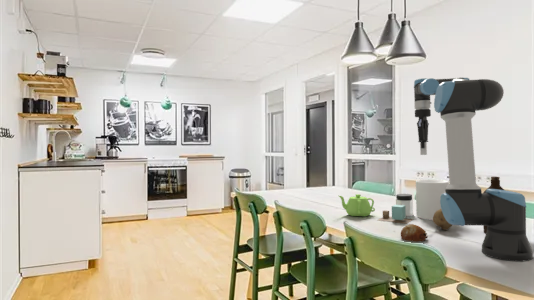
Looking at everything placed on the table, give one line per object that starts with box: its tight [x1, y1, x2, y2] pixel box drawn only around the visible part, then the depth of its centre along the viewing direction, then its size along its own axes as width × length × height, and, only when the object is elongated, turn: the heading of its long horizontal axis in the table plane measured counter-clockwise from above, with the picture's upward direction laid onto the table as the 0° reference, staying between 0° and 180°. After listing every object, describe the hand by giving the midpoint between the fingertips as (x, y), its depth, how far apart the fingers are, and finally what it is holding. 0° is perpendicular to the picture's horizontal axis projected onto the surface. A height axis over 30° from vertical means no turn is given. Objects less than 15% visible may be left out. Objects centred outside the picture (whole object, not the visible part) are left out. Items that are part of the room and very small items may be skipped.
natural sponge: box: [432, 209, 453, 231], centre depth 160 cm, size 9×9×10 cm
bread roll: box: [400, 223, 428, 243], centre depth 148 cm, size 10×10×8 cm
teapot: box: [338, 193, 376, 217], centre depth 194 cm, size 16×14×13 cm
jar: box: [395, 193, 414, 217], centre depth 191 cm, size 9×8×12 cm
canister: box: [415, 179, 450, 221], centre depth 184 cm, size 16×16×20 cm
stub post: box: [382, 209, 390, 218], centre depth 186 cm, size 3×3×4 cm
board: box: [377, 216, 414, 225], centre depth 180 cm, size 12×15×1 cm
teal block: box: [391, 204, 407, 220], centre depth 177 cm, size 5×5×7 cm
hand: (423, 154), depth 179 cm, fingers closed
